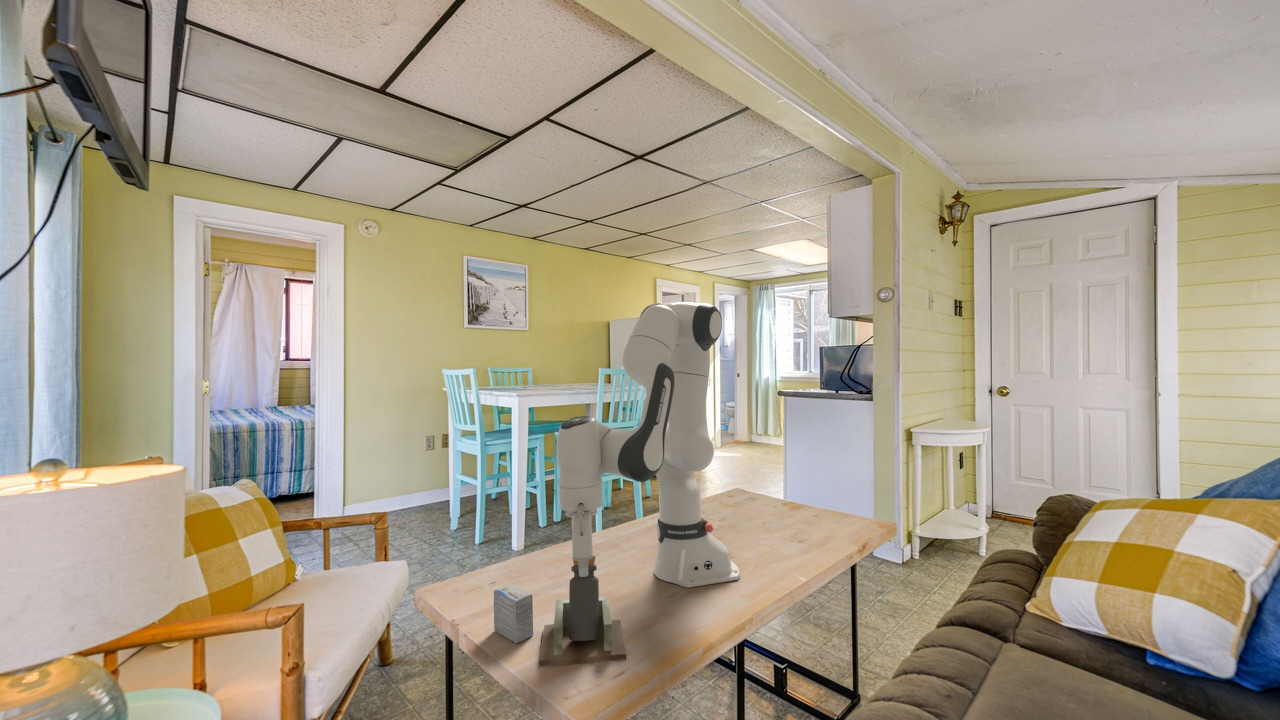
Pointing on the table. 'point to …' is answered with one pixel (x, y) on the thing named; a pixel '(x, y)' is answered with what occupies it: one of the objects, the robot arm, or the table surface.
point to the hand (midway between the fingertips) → (583, 565)
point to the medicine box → (513, 613)
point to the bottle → (584, 604)
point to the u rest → (569, 652)
